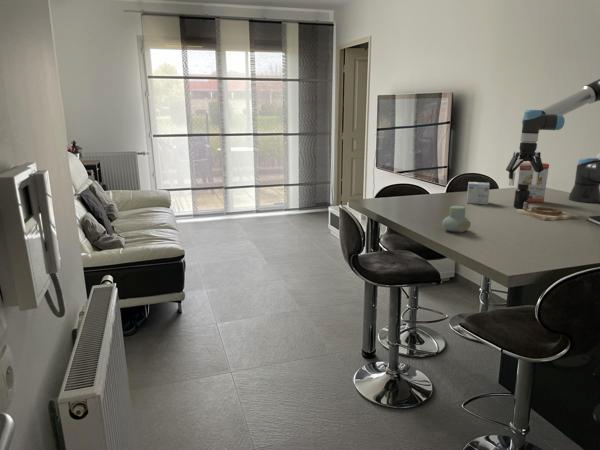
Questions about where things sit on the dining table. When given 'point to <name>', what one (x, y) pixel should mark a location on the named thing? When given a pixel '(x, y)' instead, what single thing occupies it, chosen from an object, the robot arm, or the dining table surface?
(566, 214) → the seat plate
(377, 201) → the dining table surface
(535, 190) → the cracker box
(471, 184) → the light bulb box
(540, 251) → the dining table surface
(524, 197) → the supplement bottle
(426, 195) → the dining table surface
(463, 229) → the air freshener
